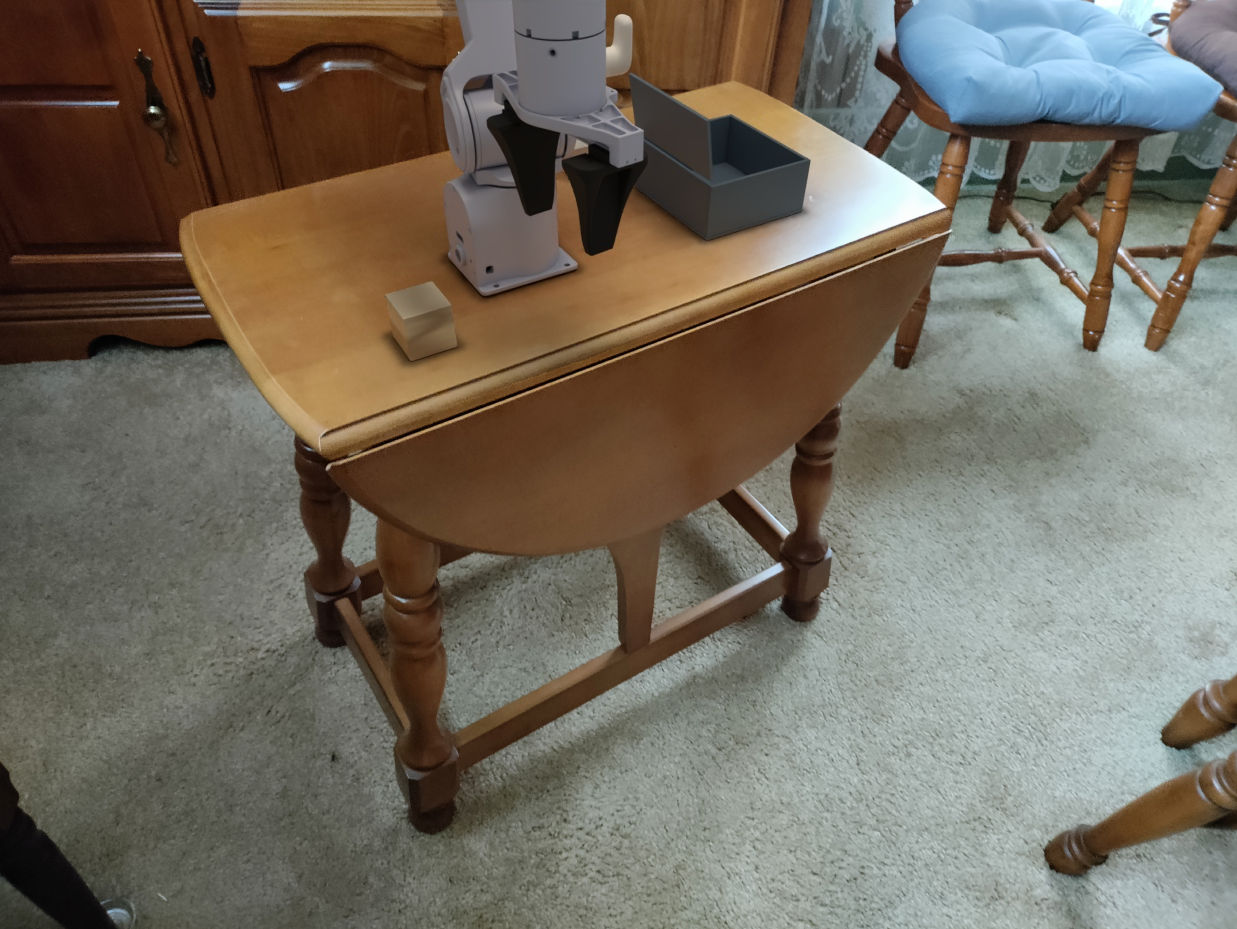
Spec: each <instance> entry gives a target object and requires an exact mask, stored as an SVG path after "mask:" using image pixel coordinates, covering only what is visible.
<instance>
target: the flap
mask: <svg viewBox="0 0 1237 929" xmlns="http://www.w3.org/2000/svg"><path fill="white" fill-rule="evenodd" d="M628 80H629V88H630V96H631V104H632V112H633V120H634V125H635V126H637V127H638V128H640V129H642V130H644V137H646V138H647V139H649V140H650V141H652V142H653V143H655V144H656V145H657V146H659V147H660V148H662V149H663V150H665V151H666V152H668V153H669V154H671V155H672V156H674V157H675V158H677V159H678V160H680V161H681V162H683V163H684V164H686V165H687V166H689V167H690V168H692V169H693V170H695V171H696V172H698V173H699V174H701V175H702V176H704V177H705V178H706V179H708V180H709V181H711V180H713V167H712V149H711V132H710V119H711V118H708V117H706V116H705V115H703V114H701V113H700V112H698V111H697V110H695V109H693V108H692V107H690V106H688V105H686V104H685V103H683V102H681V101H679V100H678V99H676V98H674V96H671V95H670V94H668V93H666V92H665V91H663V90H661V89H660V88H658V87H656V86H655V85H653V84H651V83H650V82H648V81H646V80H645V79H643V78H641V77H640V76H638V75H636V74H634V73H633V72H629V73H628Z"/></svg>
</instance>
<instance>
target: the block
mask: <svg viewBox="0 0 1237 929" xmlns="http://www.w3.org/2000/svg"><path fill="white" fill-rule="evenodd" d="M384 299H385V305H386V308H387V313H388V318H389V324H390V328H391V333H392V337H393V338H394V340H395V341H396V342H397V344H398V345H399V347H400V348H401V350H402V351H403V352H404V354H405V355H406V357H407V358H408V359H409V361H410V362H413V361H418V360H421V359H423V358H427V357H429V356H433V355H435V354H438V353H442V352H446V351H448V350H451V349H454V348H455V349H456V348H458V340H457V332H456V325H455V318H454V311H453V310H454V309H453V305H452V303H451V302H450V301H449V300H448V298H447V297H446V296H445V295H444V294H443V292H442V291H441V290H440V288H438V286H437V285H436V284H435V283H434V281H432V280H431V281H427V282H423V283H420V284H417V285H412V286H410V287H405V288H403V289H399V290H395V291H392V292H388V293H385V294H384Z"/></svg>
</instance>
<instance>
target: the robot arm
mask: <svg viewBox="0 0 1237 929" xmlns="http://www.w3.org/2000/svg"><path fill="white" fill-rule="evenodd" d="M454 2H455V7H456V10H457V16H458V20H459V24H460V29H461V33H462V38H463V42H464V47H463V48H462V49H461V51H460V52H459V53H458V54H457V55H456V57H455V58H453V59H452V61H451V62H450V63H449V64H448V65H447V67H446V68H445V69H444V71H443V73H442V78H441V82H440V86H439V93H440V97H441V103H442V108H443V109H442V110H443V123H444V131H445V135H446V139H447V145H448V148H449V152H450V154H451V157H452V158H451V159H452V161H453V162H454V165H455V166H456V168H457V169H459V170H460V171H461V172H462V173H463V174H461V175H460V176H458V177H456V178H454V179H451V180H449V181H447V182H445V183H444V185H443V189H442V190H443V191H442V202H443V210H444V216H445V217H444V218H445V224H446V231H447V238H448V247H449V250H448V252H447V257H448V259H449V260H450V261H451V262H452V264H453V265H454V266H455V267H456V268H457V269H458V271H460V272H461V274H462V275H463V276H464V278H466V279H467V280H468V282H470V283H471V285H472V286H473V287H474V288H475V289H476V290H477V292H478V293H479V294H480V295H482V296H485V297H487V296H492V295H494V294H497V293H501V292H504V291H508V290H512V289H515V288H518V287H521V286H525V285H528V284H531V283H535V282H538V281H541V280H544V279H547V278H548V279H549V278H551V277H555V276H559V275H561V274H565V273H569V272H571V271H574V270H577V268H578V262H577V261H576V260H575V259H574V258H573V257H572V256H570V255H569V254H568V253H567V252H566V250H564V249H563V248H562V247H561V246H560V244H559V242H560V241H559V218H558V217H559V216H558V214H559V213H558V192H557V190H558V188H557V174H559V173H562V172H563V171H564V173H565V175H566V177H567V179H568V181H569V185H570V187H571V190H572V193H573V196H574V198H575V203H576V207H577V212H578V213H577V214H578V222H579V231H580V238H581V243H582V247H583V250H584V253H585V254H586V255H588V256H590V257H595V256H597V255H599V254H603V253H605V252H608V251H610V250H613V249H614V246H615V242H616V240H617V234H618V231H619V227H620V224H621V220H622V217H623V213H624V211H625V207H626V205H627V202H628V200H629V197H630V196H631V193H632V191H633V189H634V187H635V184H636V182H637V180H638V178H639V177H640V175H641V174H642V172H643V171H644V169H645V168H646V166H647V165H648V153H647V152H646V151H645V150H643V141H644V130H642V129H640V128H638V127H637V126H635V123H632V122H631V121H630V120H629V119H628V118H627V116H625V114H624V113H623V112H622V111H621V110H620V109H619V108H618V107H617V105H616V103H618V100H619V91H618V90H616V89H614V88H612V87H610V86H607V77H606V47H607V4H606V3H607V0H454ZM576 139H578V140H579V141H581V142H583V143H585V144H587V145H588V154H587V153H583V154H580V155H577V156H573V157H570V155H571V153H572V151H573V149H574V147H575V144H576ZM569 157H570V158H569Z"/></svg>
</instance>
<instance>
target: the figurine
mask: <svg viewBox="0 0 1237 929" xmlns="http://www.w3.org/2000/svg"><path fill="white" fill-rule="evenodd" d="M613 22H614V24H613V39H612V44H611V45H610V46H606V78H610V77H617V76H622V75H625V74H626V73H628V72H629V71H630V68H631V66H632V59H633V37H634V36H633V35H634V33H633V31H634V27H633V26H634V24H633V20H632V18H631V16H629V15H627V14H624V13H621V14H618V15H616V16H615V17H614V21H613ZM583 153H587V154H588V145H587V144H585V143H583V142H581V141H579V140H578V139H576V144H575V147H574V149H573V151H572V153H571V155H570V157H573V156H577V155H580V154H583ZM570 157H569V158H570Z"/></svg>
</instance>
